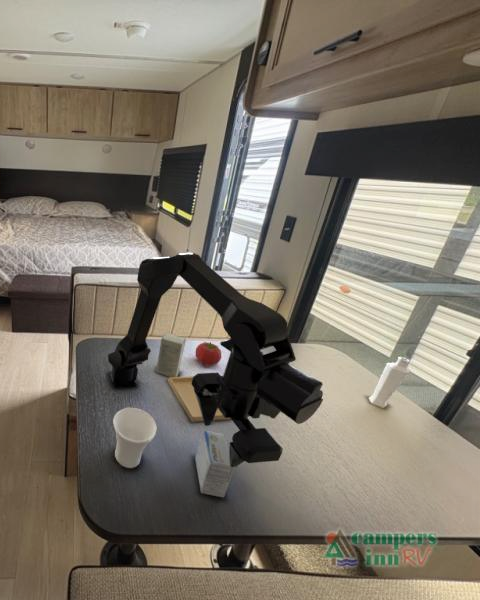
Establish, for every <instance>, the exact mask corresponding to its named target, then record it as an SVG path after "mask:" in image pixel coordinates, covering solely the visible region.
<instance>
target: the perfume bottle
mask: <svg viewBox="0 0 480 600" xmlns="http://www.w3.org/2000/svg"><path fill="white" fill-rule="evenodd" d="M409 362H410V359H408V358H407V357H404V356H398V358H397V360H396V362H387V363H386V364H385V367H384V369H383V371H382V373H381V376H380V379H378V382H377V385H376V387H375V389H374V392H373V393H372V395H371V396H369V397H368V400H369V402H370V403H371V404H372V405H374V406H378V407H380V408H382V409H384V408H386V407H387V406H388V401H389V400H390V399H391V397H392V396H393V395H394V393H395V392H397V389H398V388H399V387H400V385H402V383H403V382H404V380H405V379H406V377H408V376H409V374H410V372H411V371H412V370H411V369H410V368H408V367H407V365H408V363H409Z"/></svg>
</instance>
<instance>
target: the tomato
mask: <svg viewBox="0 0 480 600" xmlns="http://www.w3.org/2000/svg"><path fill="white" fill-rule="evenodd" d="M195 357H196V359H197V361H198V362H199V363H201V364H202V365H205V366H208V367H210V366H211V367H212V366H214V365H215V366H216V365H217V364H219V363H220V361H221V360H222V350H221V349H220V348H219V345H216V344H214V343H212V342H211V341H210V342H206V341H204V342H202V343H200V344H198V345H197V346H196V348H195Z"/></svg>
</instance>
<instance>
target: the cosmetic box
mask: <svg viewBox="0 0 480 600" xmlns="http://www.w3.org/2000/svg"><path fill="white" fill-rule="evenodd" d="M186 340H187V339H186V338H185V337H183V336H179V335H176V334H172V333H169V332H165V333H164V335H162V337H161V338H160V345H159V352H158V358H157V363H156V365H157V366H156V369H155V372H156V373H158V374H161V375H163V376H166V377H168V378H169V377H178V375H179V374H180V371H181V366H182V360H183V356H184V350H185V344H186V342H187V341H186Z"/></svg>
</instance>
